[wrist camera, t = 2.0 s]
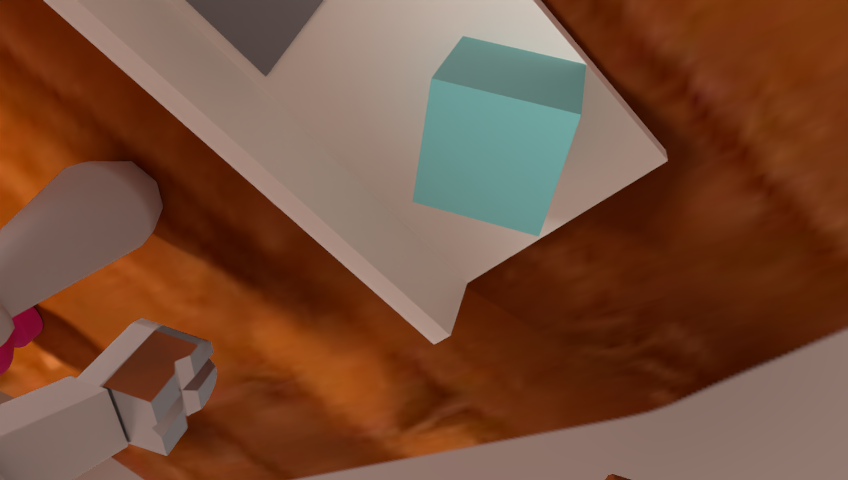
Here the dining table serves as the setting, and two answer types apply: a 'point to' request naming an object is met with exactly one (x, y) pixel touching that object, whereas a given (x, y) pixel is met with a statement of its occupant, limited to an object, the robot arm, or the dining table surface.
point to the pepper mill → (20, 335)
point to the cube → (498, 133)
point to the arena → (359, 122)
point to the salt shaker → (73, 232)
